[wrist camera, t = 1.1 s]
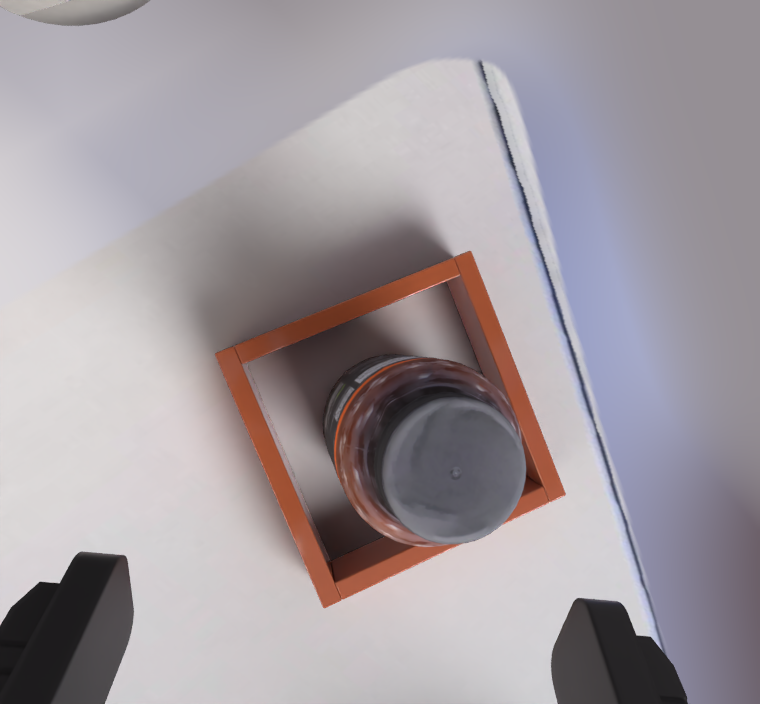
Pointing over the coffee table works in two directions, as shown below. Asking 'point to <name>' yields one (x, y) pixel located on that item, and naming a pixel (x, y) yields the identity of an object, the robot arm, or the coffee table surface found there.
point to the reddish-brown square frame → (326, 575)
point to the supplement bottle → (425, 449)
